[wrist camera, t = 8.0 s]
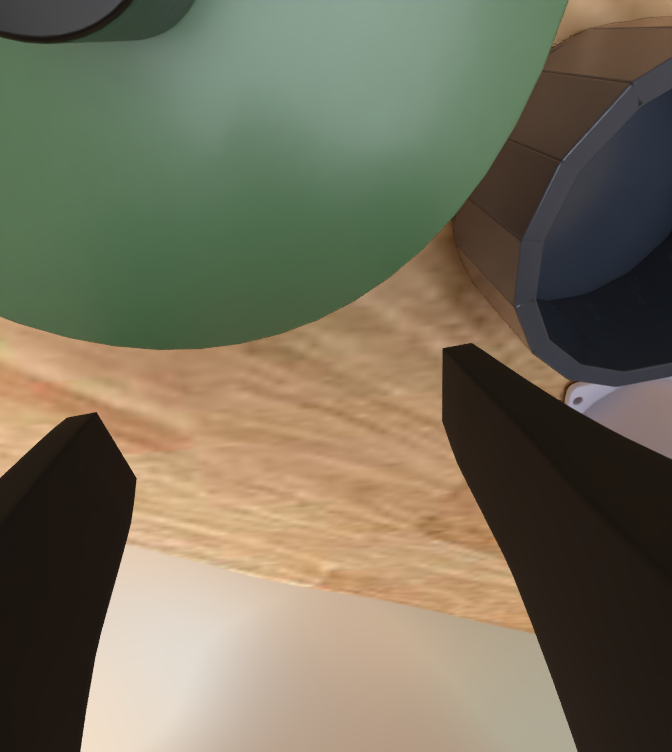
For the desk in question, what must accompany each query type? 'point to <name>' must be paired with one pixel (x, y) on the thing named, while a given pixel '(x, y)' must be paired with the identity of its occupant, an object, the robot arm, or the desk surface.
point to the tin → (585, 210)
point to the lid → (241, 154)
